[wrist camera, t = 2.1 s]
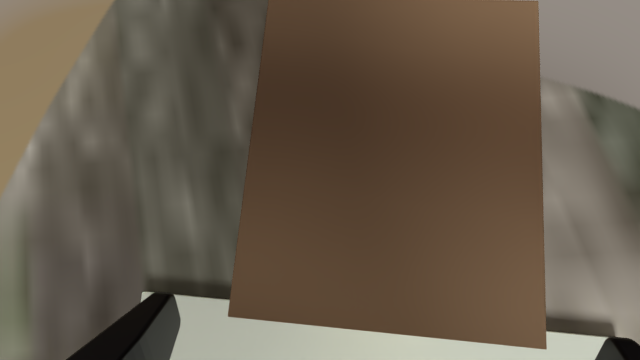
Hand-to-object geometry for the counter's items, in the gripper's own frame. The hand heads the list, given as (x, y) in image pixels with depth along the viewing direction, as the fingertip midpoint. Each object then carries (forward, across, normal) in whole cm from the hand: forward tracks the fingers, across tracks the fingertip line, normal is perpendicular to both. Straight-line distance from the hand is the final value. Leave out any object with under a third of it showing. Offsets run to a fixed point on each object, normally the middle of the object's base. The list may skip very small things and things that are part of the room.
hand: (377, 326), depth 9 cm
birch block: (+9, 0, +5) cm, 11 cm away
